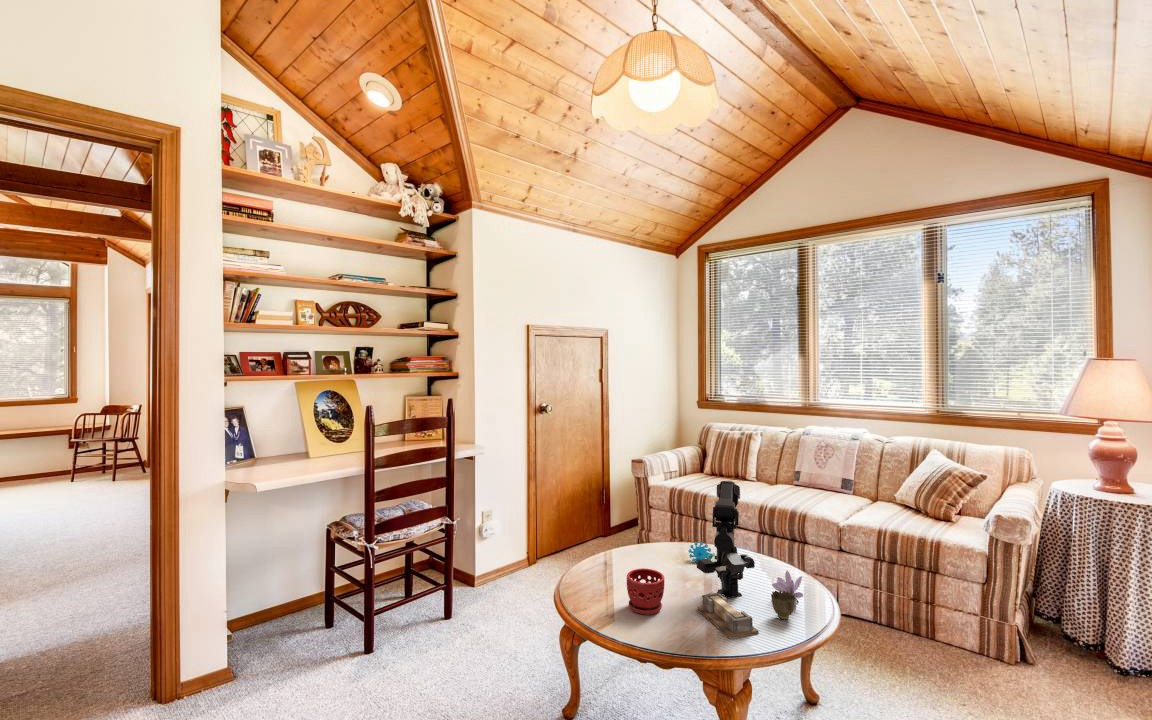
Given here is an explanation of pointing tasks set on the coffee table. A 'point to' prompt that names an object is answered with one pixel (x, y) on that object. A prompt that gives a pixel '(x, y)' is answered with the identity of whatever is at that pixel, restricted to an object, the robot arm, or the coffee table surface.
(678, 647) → the coffee table surface
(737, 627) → the end cap base
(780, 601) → the cup
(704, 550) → the gear
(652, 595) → the plant pot
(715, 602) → the birch slat
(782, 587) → the water lily
